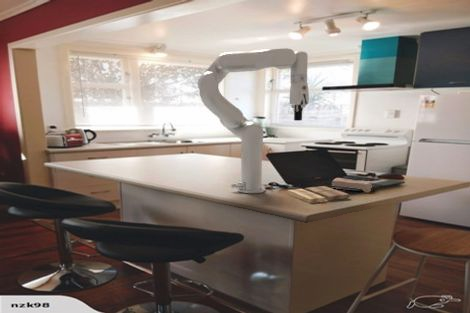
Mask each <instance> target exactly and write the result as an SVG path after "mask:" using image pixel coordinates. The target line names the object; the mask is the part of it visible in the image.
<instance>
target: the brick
mask: <svg viewBox="0 0 470 313" xmlns="http://www.w3.org/2000/svg"><path fill="white" fill-rule="evenodd" d="M331 181H332V182H331V187H332V186H340V187H349V188H357V189H362V190H363V191H364V192H363V193H367V194H368V193H370V192H371V191H372V190H371V188H372V189H373V185H372V184H373V182H372V181H369V180H367V181H366V180H354V179H347V178H344V177H342V178H341V177H336V178H334V179H332V180H331Z"/></svg>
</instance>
